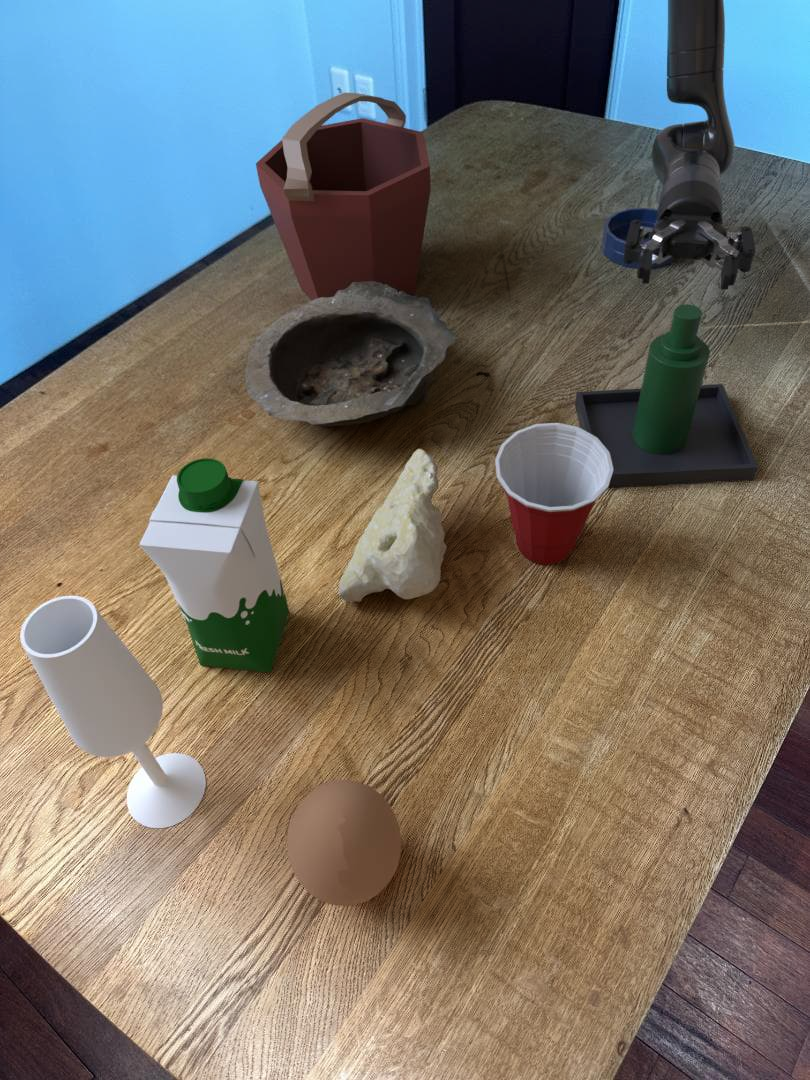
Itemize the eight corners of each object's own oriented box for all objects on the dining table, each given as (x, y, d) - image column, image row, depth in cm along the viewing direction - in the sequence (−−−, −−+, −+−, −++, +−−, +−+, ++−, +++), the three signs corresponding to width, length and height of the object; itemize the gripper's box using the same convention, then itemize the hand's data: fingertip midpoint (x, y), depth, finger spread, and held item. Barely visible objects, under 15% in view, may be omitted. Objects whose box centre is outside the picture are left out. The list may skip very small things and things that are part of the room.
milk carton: (300, 605, 81) (262, 458, 66) (277, 684, 75) (229, 542, 60) (216, 597, 82) (160, 451, 67) (187, 674, 76) (118, 532, 61)
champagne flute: (213, 752, 71) (125, 582, 53) (197, 829, 66) (95, 672, 48) (137, 752, 71) (25, 583, 53) (117, 828, 67) (-14, 672, 49)
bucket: (339, 351, 108) (312, 162, 89) (244, 289, 119) (202, 110, 101) (468, 277, 118) (469, 93, 99) (370, 226, 129) (353, 53, 111)
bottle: (679, 418, 95) (711, 293, 82) (691, 453, 91) (727, 327, 78) (627, 420, 95) (651, 296, 82) (637, 455, 91) (664, 330, 79)
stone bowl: (487, 367, 103) (486, 307, 96) (377, 500, 92) (367, 443, 84) (332, 312, 113) (320, 253, 106) (215, 426, 101) (193, 369, 94)
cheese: (398, 657, 78) (506, 549, 74) (339, 622, 75) (449, 506, 71) (376, 573, 91) (466, 477, 87) (325, 540, 88) (417, 438, 84)
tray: (718, 397, 97) (722, 383, 96) (753, 480, 88) (758, 467, 87) (574, 404, 98) (576, 391, 97) (594, 488, 89) (596, 475, 87)
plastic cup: (486, 581, 81) (488, 498, 72) (497, 503, 88) (500, 418, 79) (596, 592, 79) (613, 509, 70) (599, 512, 86) (614, 426, 77)
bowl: (668, 230, 123) (673, 205, 120) (686, 269, 116) (692, 243, 113) (596, 235, 124) (599, 210, 121) (608, 274, 116) (612, 248, 113)
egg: (407, 816, 66) (398, 753, 57) (402, 925, 60) (392, 873, 52) (306, 814, 66) (283, 751, 58) (292, 922, 61) (264, 870, 53)
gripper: (635, 175, 99) (625, 243, 89) (758, 181, 96) (763, 252, 86) (626, 233, 105) (616, 303, 95) (742, 241, 102) (745, 314, 92)
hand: (686, 279), depth 90 cm, fingers open, 8 cm apart
